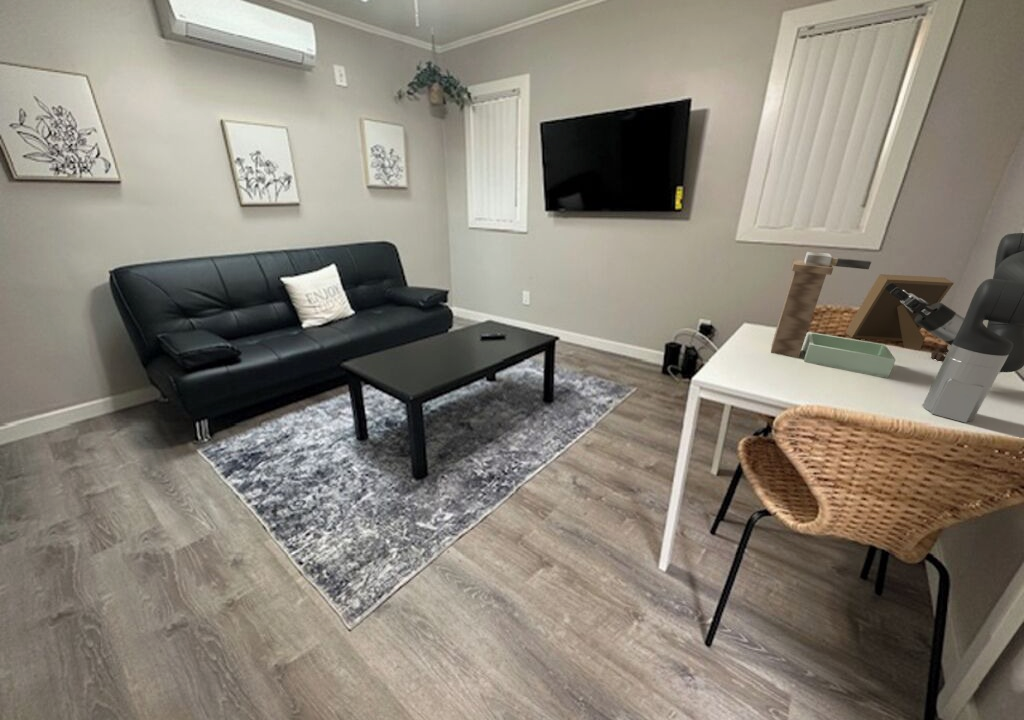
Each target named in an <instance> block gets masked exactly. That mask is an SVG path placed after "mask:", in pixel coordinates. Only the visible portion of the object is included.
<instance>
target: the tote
mask: <svg viewBox="0 0 1024 720" xmlns="http://www.w3.org/2000/svg"><path fill="white" fill-rule="evenodd" d="M802 353H803V354H802V355H803V361H804V363H808V364H814V365H818V366H823V367H829V368H833V369H839V370H845V371H848V372H854V373H859V374H865V375H868V376H869V375H870V376H873V377H878V378H879V377H880V378H884V379H888V378H889V377H890V374H891V371H892V370H893V367H894V365H895V362H896V358H895V356H894V355H893V354H892V352H891V350H889V348H888V346H887V345H886V344H884V343H876V342H870V341H864V340H859V339H855V338H846V337H840V336H834V335H829V334H824V333H823V334H822V333H816V332H811V331H807V334H806V337H805V340H804V343H803V346H802Z"/></svg>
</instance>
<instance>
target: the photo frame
mask: <svg viewBox="0 0 1024 720" xmlns="http://www.w3.org/2000/svg"><path fill="white" fill-rule="evenodd" d="M889 283H893V284H894V285H896V286H897V287H899V288H900V289H902V290H905V291H906V292H907V293H912V294H914V295H915V296H917V297H918V298H921V299H923V300H924V301H926V302H927V303H929V304H927V305H926V306H931V305H932V304H935V303H942V301H943V299H944V298H945V296H946V295H947V293H948V292H949V291H950V290H951V288H952V286H953V285H954V284H955V282H953V281H951V280H950V279H948V278H946V277H941V276H940V277H939V276H921V275H919V276H918V275H916V276H915V275H903V274H902V275H901V274H886V273H885V274H882V273H881V274H880V273H879V275H878V276H877V278H876V279H875V282H874V283H873V284H872V286H871V288H870V290H869V291H868V293H867V295H866V296H865V299H864V300H863V302H862V303H861V305H860V306H859V308H858V310H857V312H856V313H855V315H854V316H853V318H852V320H851V322H850V323H849V325H848V326H847V328H846V329H845V333H846V334H847V335H848V336H849V337H850V339H862V340H877V341H878V340H881V341H892V342H894V341H895V342H902V345H903V348H905V349H910V350H917V351H921V349H922V346H923V344H924V341H925V337H924V335H923V334H922V332H921V330H922V328H923V327H921V326H920V325H918V324H917V323H915V321H914V320H915V318H916V316H917V315H919V313H917V312H916V313H915V314H914V313H913V312H911V311H910V310H909V309H908V308H907V307H906V306H905V305H904V304H902V303H901V302H900V300H899V299H898V298H896V297H895V296H893V295H892V294H891V293H890V292H889V291H888V290H886V289H885V286H887V285H888V284H889Z"/></svg>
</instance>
